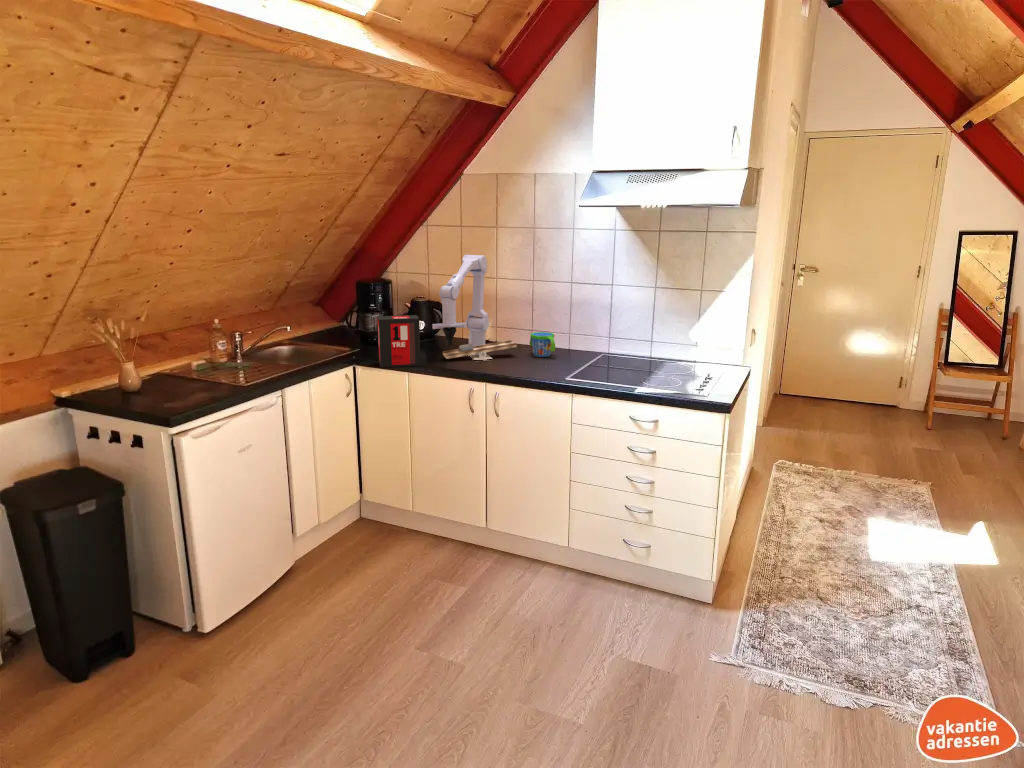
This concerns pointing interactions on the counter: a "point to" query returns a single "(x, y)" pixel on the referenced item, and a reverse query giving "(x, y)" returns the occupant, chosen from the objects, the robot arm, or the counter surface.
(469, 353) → the beam
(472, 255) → the robot arm
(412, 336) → the cleaning product box
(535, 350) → the snack cup
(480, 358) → the fulcrum stand
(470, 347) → the steel block
